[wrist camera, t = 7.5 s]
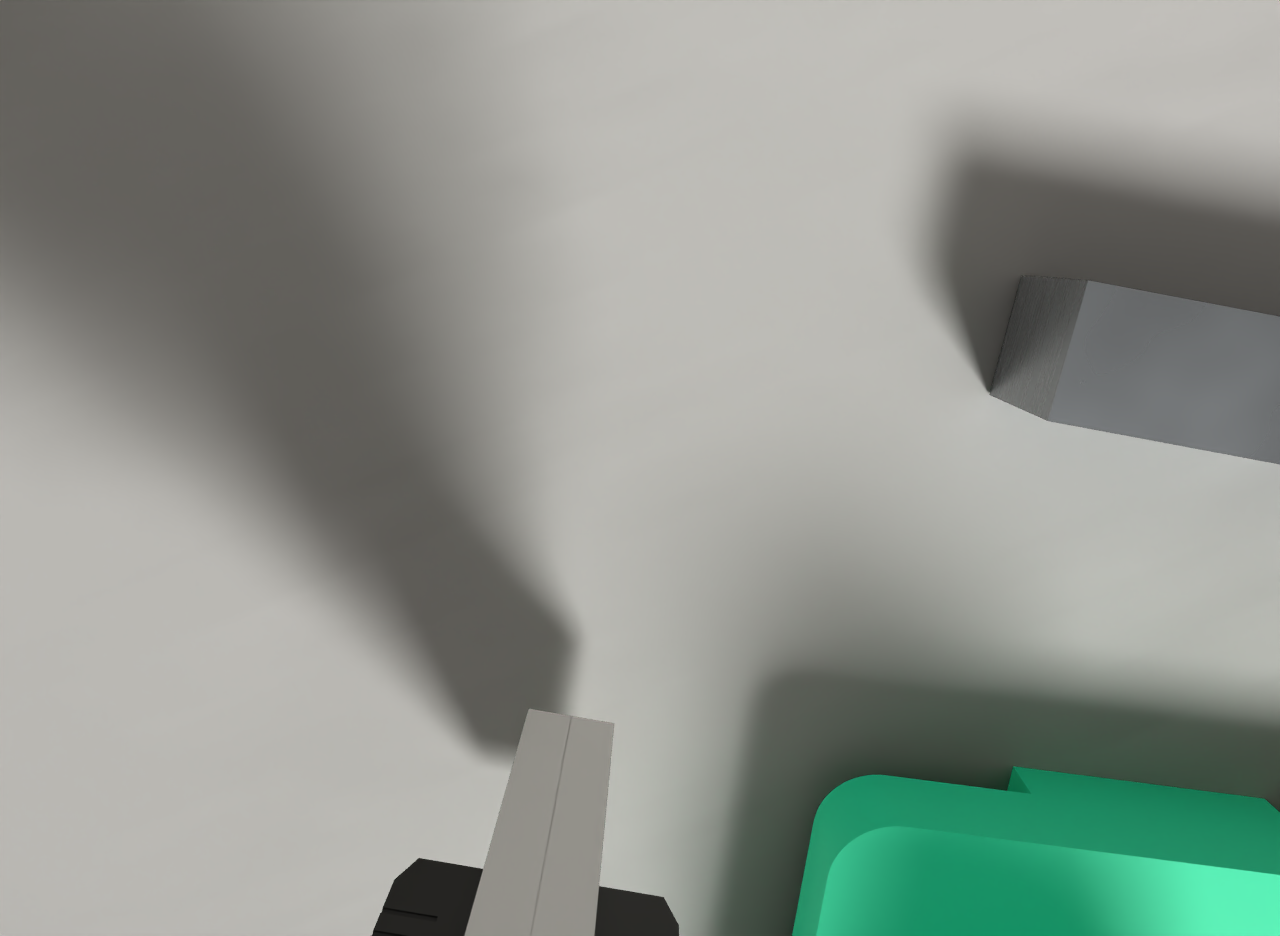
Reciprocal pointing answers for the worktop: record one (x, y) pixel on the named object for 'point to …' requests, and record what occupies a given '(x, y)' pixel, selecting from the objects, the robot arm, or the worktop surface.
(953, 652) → the worktop surface
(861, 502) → the worktop surface
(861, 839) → the camera mount
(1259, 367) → the dock
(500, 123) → the worktop surface
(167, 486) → the worktop surface
